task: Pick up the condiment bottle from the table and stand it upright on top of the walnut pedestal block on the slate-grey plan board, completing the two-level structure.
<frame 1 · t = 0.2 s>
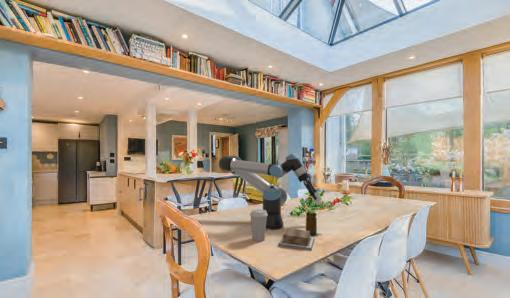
hand: (319, 202, 153), 15 cm above the table, tool tilted 35°, fingers open, 13 cm apart
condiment: (312, 234, 136), on the table
pedestal: (297, 236, 121), on the plan board, point 3 cm above the table
plan board: (297, 242, 121), on the table
coffee cup: (258, 239, 125), on the table
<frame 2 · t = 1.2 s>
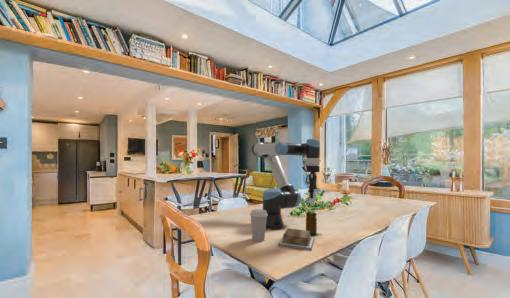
hand: (312, 201, 137), 18 cm above the table, tool pointing down, fingers open, 13 cm apart
nothing on the table moved.
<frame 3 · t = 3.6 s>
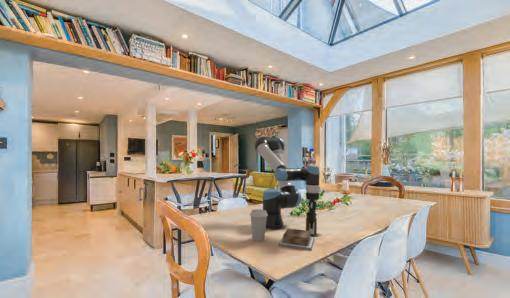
hand: (312, 232, 136), 1 cm above the table, tool pointing down, fingers closed on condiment, 6 cm apart
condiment: (312, 234, 135), on the table, touching gripper
everything else where it was.
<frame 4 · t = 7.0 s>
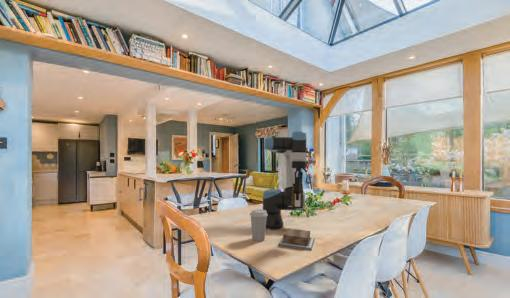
hand: (298, 205, 122), 19 cm above the table, tool pointing down, fingers closed on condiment, 6 cm apart
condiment: (298, 207, 122), point 18 cm above the table, touching gripper
everything else where it was.
when the fingers open (7 cm above the table, at t = 10.6 s): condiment drops 1 cm, resting on pedestal.
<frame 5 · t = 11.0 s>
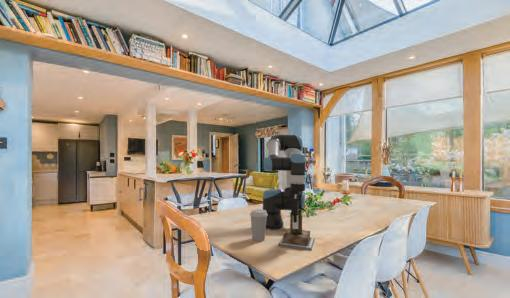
hand: (297, 225, 121), 9 cm above the table, tool pointing down, fingers open, 12 cm apart
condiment: (297, 233, 121), point 5 cm above the table, touching pedestal
everything else where it was.
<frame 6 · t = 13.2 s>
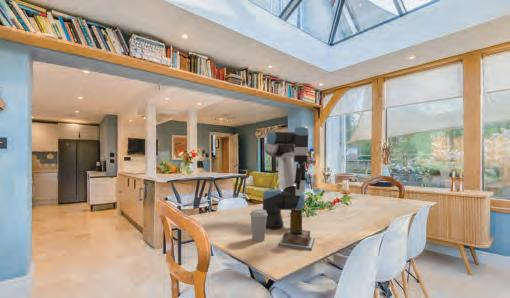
hand: (300, 193, 129), 24 cm above the table, tool pointing down, fingers open, 13 cm apart
nothing on the table moved.
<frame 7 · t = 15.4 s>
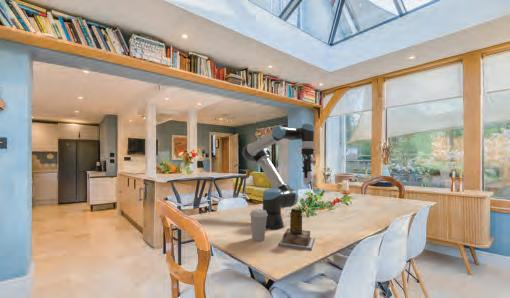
hand: (307, 182, 146), 29 cm above the table, tool pointing down, fingers open, 13 cm apart
nothing on the table moved.
at the end: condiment inside the target area on the pedestal (0.6 cm from its centre), point 4.8 cm above the pedestal's base; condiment tilted 0°; the gripper is holding nothing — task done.
